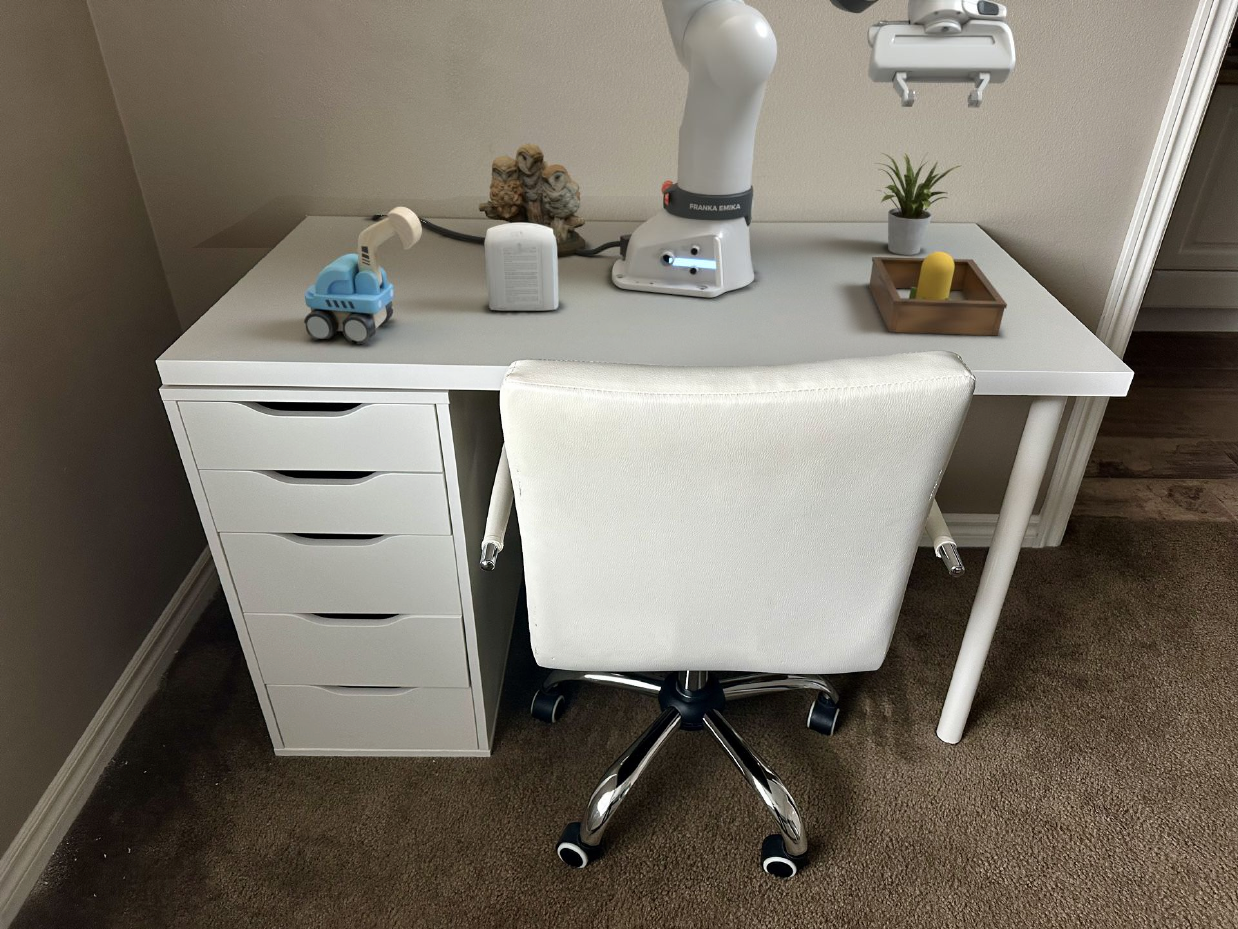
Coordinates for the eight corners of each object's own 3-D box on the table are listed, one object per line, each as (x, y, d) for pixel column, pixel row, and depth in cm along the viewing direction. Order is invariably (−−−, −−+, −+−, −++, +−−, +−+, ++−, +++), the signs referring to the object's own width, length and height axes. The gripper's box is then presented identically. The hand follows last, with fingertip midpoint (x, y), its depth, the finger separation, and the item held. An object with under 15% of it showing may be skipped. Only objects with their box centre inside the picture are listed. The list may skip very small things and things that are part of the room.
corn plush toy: (914, 315, 125) (926, 258, 121) (907, 301, 130) (918, 245, 125) (951, 316, 125) (964, 259, 121) (943, 303, 129) (955, 246, 125)
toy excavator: (418, 349, 116) (400, 221, 107) (301, 340, 118) (274, 214, 109) (440, 324, 123) (426, 201, 114) (329, 316, 125) (306, 195, 116)
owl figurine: (476, 257, 147) (467, 152, 137) (488, 235, 156) (479, 135, 147) (583, 259, 146) (581, 153, 137) (588, 236, 156) (586, 136, 147)
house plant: (837, 247, 151) (850, 149, 142) (882, 230, 159) (897, 136, 150) (909, 268, 142) (928, 165, 133) (954, 249, 150) (975, 150, 141)
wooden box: (888, 332, 120) (893, 301, 118) (867, 285, 136) (872, 256, 133) (999, 336, 119) (1007, 304, 117) (966, 288, 134) (972, 259, 132)
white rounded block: (559, 301, 130) (556, 218, 124) (559, 312, 127) (555, 227, 120) (490, 302, 130) (483, 219, 123) (487, 313, 126) (480, 228, 120)
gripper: (872, 5, 127) (872, 90, 124) (1017, 6, 125) (1021, 91, 122) (863, 36, 133) (863, 117, 130) (1001, 36, 131) (1005, 118, 128)
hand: (941, 104), depth 126 cm, fingers open, 8 cm apart
